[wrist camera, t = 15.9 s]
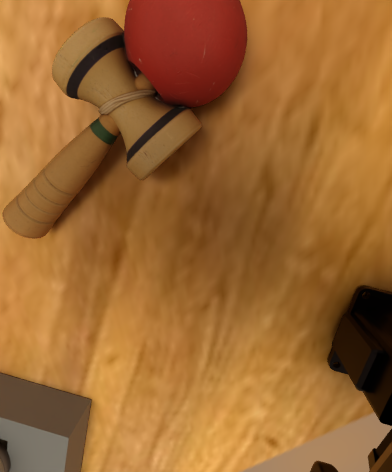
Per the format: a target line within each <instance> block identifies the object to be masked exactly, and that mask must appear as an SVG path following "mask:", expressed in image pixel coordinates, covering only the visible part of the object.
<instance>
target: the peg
mask: <svg viewBox="0 0 392 472" xmlns="http://www.w3.org/2000/svg"><path fill="white" fill-rule="evenodd" d="M7 444H8V441H5V440H2V439H0V472H9V471H10V467H11V461H10V457H9V454H8V452H7Z"/></svg>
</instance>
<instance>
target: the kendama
mask: <svg viewBox="0 0 392 472" xmlns="http://www.w3.org/2000/svg"><path fill="white" fill-rule="evenodd" d="M246 44H247V27H246V20H245V15H244V12H243V9H242V6H241V3H240V0H130V1H129V4H128V7H127V11H126V16H125V26H124V31H123V29H122V28H121V27H120V26H119V25H118V24H117V23H116V22H115V21H114V20H113V19H111V18H103V17H102V18H97V19H94V20H92V21H90V22H88V23H86V24H84V25H83V26H82V27H80V28H79V29H78V30H77V31H75V32H74V33H73V34H72V35H71V36H70V37H69V38H68V39H67V40H66V42H65V43H64V44H63V45H62V47H61V48H60V50H59V51H58V53H57V55H56V57H55V60H54V62H53V66H52V76H53V79H54V81H55V82H56V83H57V85H58V86H59V87H60V89H61V90H62V91H63V92H64V93H65V94H66V95H67V96H68V97H71V98H75V99H81V100H85V101H88V102H90V103H92V104H94V105H96V106H98V107H99V108H100V109H99V112H100V113H101V116H100V117H99V118H98V119H96V120H95V121H94V122H93V123H91V125H89V126H88V127H87V128H86V129H85V130H84V131H82V132H81V133H80V134H79V135H78V136H77V137H75V138H74V139H73V140H72V141H71V142H70V143H69V144H67V145H66V146H65V147H64V148H63V149H62V150H61V151H60V152H59V153H58V154H57V155H56V156H55V157H54V158H53V159H52V160H51V161H50V162H49V163H48V164H47V165H46V167H45V168H44V169H43V170H42V171H41V172H40V173H39V174H38V175H37V176H36V177H35V178H34V179H33V180H32V181H31V182H30V183H29V184H28V186H26V187H25V188H24V189H23V190H22V192H21V193H20V194H19V195H17V196H16V197H15V198H14V199H13V200H12V201H11V202H10V203H9V204H8V205H7V206H6V207H5V209H4V211H3V219H4V222H5V223H6V225H7V226H8V227H9V228H10V229H11V230H12V231H14V232H15V233H17V234H19V235H21V236H23V237H27V238H34V239H35V238H41V237H43V236H45V235H46V234H47V233H48V231H49V230H50V229H51V227H52V226H53V224H54V223H55V222H56V220H57V219H58V218H59V216H60V215H61V214H62V212H63V211H64V210H65V209H66V207H67V206H68V205H69V203H70V202H71V201H72V200H73V199H74V197H75V196H76V195H77V193H78V192H79V191H80V190H81V189H82V188H83V186H84V185H85V184H86V183H87V181H88V180H89V179H90V177H91V176H92V175H93V173H94V172H95V171H96V169H97V168H98V166H99V165H100V163H101V162H102V160H103V159H104V157H105V156H106V154H107V152H108V151H109V150H110V148H111V146H112V145H113V143H114V142H115V140H116V139H117V137H118V136H119V134H120V133H121V134H122V137H123V139H124V142H125V146H126V151H127V168H128V169H129V170H130V171H131V172H132V173H133V174H134V175H135V176H136V177H137V178H138V179H139V180H144V179H146V178H147V177H148V176H149V175H150V174H151V173H152V172H153V171H154V170H156V169H157V168H158V167H159V166H160V165H161V164H162V163H163V162H164V161H165V160H166V159H167V158H169V157H170V156H171V155H172V154H173V153H174V152H175V151H177V150H178V149H179V148H180V147H181V146H182V145H183V144H184V143H185V142H187V141H188V140H189V139H190V138H191V137H192V136H193V135H194V134H195V133H196V132H197V131H198V130H199V129H200V128H201V126H202V124H201V123H200V121H199V120H198V118H197V117H196V116H195V114H194V113H193V112H192V110H191V108H192V107H197V106H201V105H204V104H207V103H209V102H211V101H213V100H214V99H216V98H217V97H219V96H220V95H221V94H222V93H223V92H224V91H225V90H226V89H227V88H228V87H229V86H230V85H231V83H232V82H233V80H234V79H235V77H236V76H237V74H238V72H239V70H240V67H241V65H242V62H243V59H244V55H245V50H246ZM134 70H135V71H134Z"/></svg>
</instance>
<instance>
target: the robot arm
mask: <svg viewBox="0 0 392 472" xmlns="http://www.w3.org/2000/svg"><path fill="white" fill-rule="evenodd" d="M365 292H368V293H367V295H366V296H362V294H363V293H365ZM332 346H333V348H332V350H331V353H330V355H329V358H328V361H327V362H328V364H329V366H330V368H331V369H332V370H334V371H338V372H341V373H345V374H349V376H350V378H351V380H352V382H353V383H354V385H355V387H356V388H357V390H359V391H362V392H363V393H364V395H365V396H366V398H367V400H368V401H369V403H370V405H371V407H372V408H373V410H374V412H375V413H376V415H377V417H378V418H379V420H380V422H381V423H383V424H387V425H390V426H392V293H391V292H387V291H383V290H379V289H375V288H371V287H367V286H361V287H359V288H358V289H357V290H356V292H355V295H354V297H353V299H352V302H351V304H350V307H349V309H348V311H347V313H346V314H344V315H343V318H342V320H341V323H340V325H339V328H338V330H337V332H336V335H335V337H334V340H333V342H332ZM334 362H338V363H337V364H333V363H334ZM368 460H369V468H370V471H369V472H392V429H391V430H390V432H389V433H388V434H387V436H386V437H385V438H384V440H383V441H382V442H381V444H380V445H379V446H378V448H377V449H375V448H374V449H373V450H372V451H371V452H370V454H369V455H368ZM310 472H338V471H337V469H336V468H335V467H334V466H332V465H331V464H327V463H324V462H321V461H316V462H315V463H314V464H313V466H312V468H311V471H310Z"/></svg>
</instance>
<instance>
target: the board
mask: <svg viewBox="0 0 392 472" xmlns="http://www.w3.org/2000/svg"><path fill="white" fill-rule="evenodd" d="M90 406H91V399H88V398H84V397H81V396H77V395H74V394H70V393H67V392H63V391H60V390H57V389H53V388H50V387H46V386H43V385H39V384H36V383H33V382H29V381H26V380H22V379H19V378H15V377H12V376H9V375H5V374H2V373H0V439H2V440H5V441H8V444H7V452H8V454H9V457H10V461H11V467H10V471H9V472H80V471H81V464H82V458H83V452H84V445H85V439H86V432H87V426H88V419H89V413H90Z"/></svg>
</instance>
